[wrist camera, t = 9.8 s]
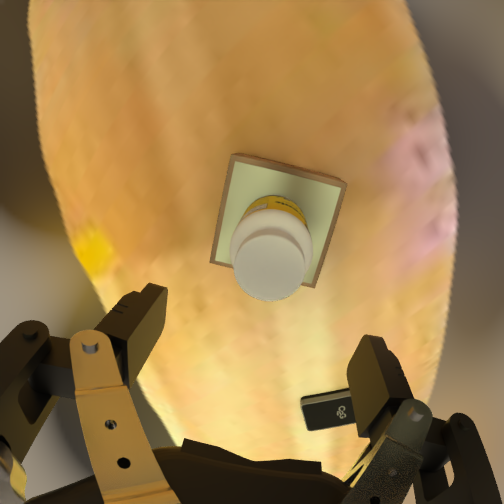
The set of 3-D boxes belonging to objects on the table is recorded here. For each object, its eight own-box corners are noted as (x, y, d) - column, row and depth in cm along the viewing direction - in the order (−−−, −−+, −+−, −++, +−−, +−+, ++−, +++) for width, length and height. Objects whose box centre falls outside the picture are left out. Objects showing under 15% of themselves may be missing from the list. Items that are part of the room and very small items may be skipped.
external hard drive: (299, 394, 39) (299, 404, 37) (377, 378, 37) (380, 388, 35) (307, 422, 41) (307, 431, 39) (377, 407, 39) (379, 417, 37)
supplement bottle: (318, 233, 26) (335, 284, 16) (265, 265, 27) (256, 328, 18) (283, 180, 24) (283, 203, 15) (229, 215, 26) (200, 257, 17)
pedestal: (218, 248, 32) (208, 263, 28) (237, 152, 28) (230, 154, 24) (311, 270, 31) (314, 289, 27) (339, 178, 28) (348, 184, 24)
